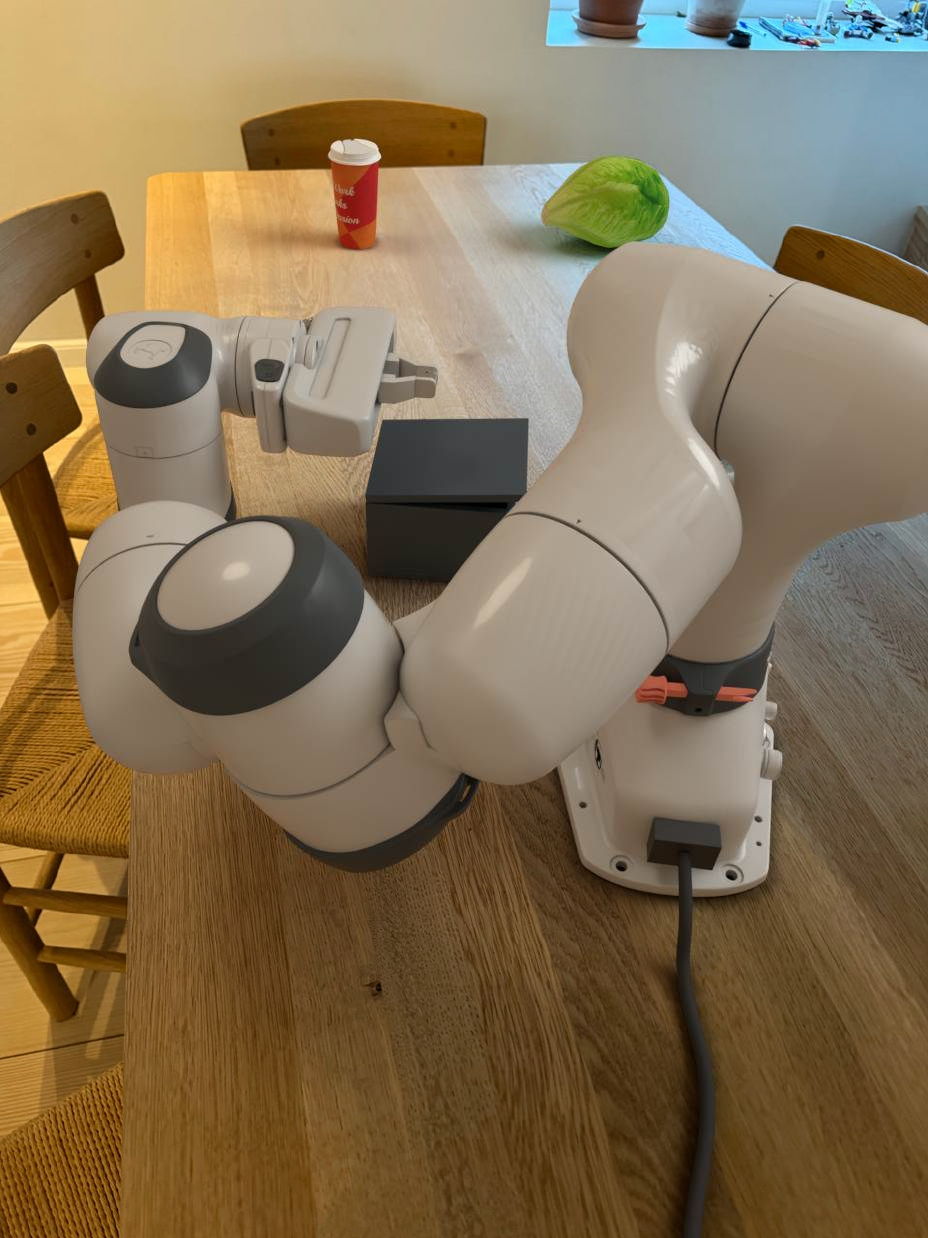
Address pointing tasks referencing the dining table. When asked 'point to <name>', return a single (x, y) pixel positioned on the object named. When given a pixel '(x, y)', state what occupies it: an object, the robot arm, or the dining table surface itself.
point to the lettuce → (610, 202)
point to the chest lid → (450, 461)
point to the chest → (427, 536)
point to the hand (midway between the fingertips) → (436, 381)
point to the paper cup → (355, 191)
